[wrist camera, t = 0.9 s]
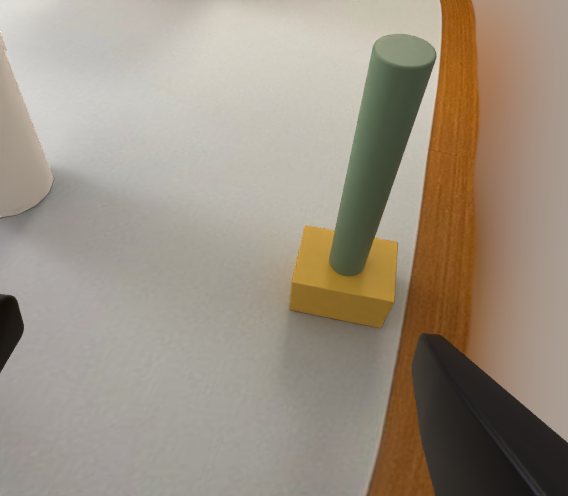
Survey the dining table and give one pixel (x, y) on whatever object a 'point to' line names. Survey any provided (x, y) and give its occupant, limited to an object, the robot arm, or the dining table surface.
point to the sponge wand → (366, 194)
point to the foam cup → (19, 149)
